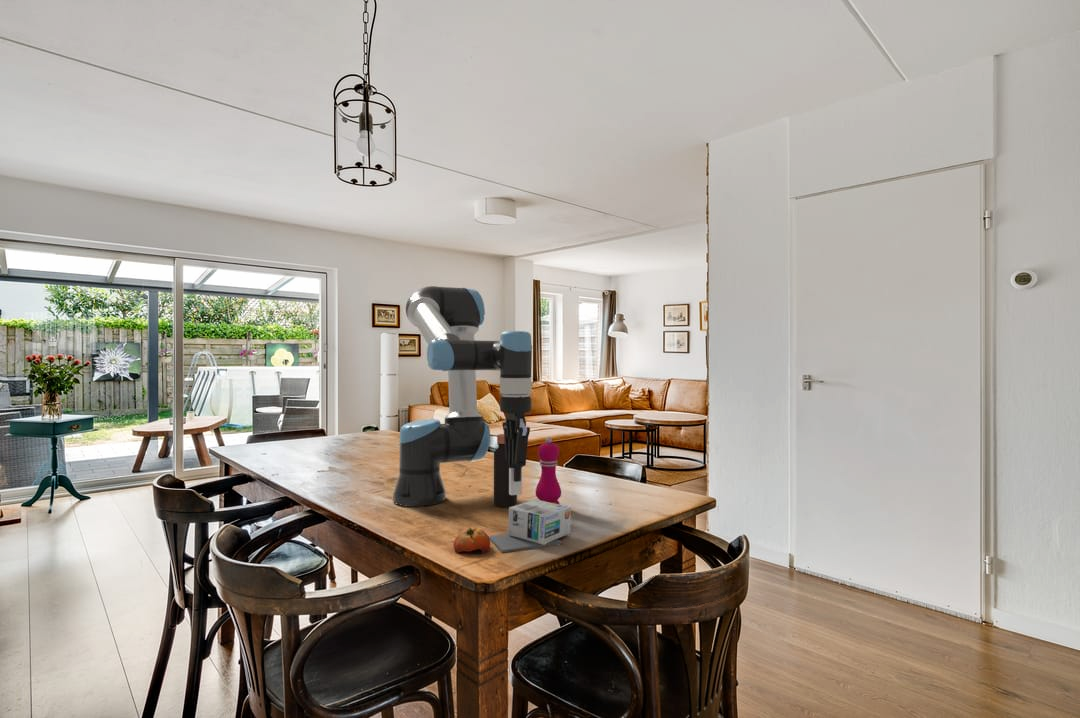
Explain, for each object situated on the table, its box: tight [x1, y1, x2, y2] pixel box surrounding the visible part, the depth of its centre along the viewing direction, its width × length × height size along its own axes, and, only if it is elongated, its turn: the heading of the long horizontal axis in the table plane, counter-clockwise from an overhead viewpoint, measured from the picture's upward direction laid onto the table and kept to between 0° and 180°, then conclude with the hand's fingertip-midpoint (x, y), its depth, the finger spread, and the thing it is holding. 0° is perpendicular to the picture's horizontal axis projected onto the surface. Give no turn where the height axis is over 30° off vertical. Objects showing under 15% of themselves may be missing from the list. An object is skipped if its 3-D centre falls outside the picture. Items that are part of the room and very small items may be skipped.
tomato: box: [453, 527, 491, 555], centre depth 117 cm, size 8×7×7 cm
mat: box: [488, 533, 562, 553], centre depth 122 cm, size 10×14×1 cm
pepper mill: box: [535, 436, 562, 505], centre depth 149 cm, size 7×7×20 cm
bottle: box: [493, 433, 518, 508], centre depth 153 cm, size 7×7×20 cm
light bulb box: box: [507, 498, 572, 545], centre depth 125 cm, size 11×7×11 cm
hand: (515, 494), depth 128 cm, fingers closed
